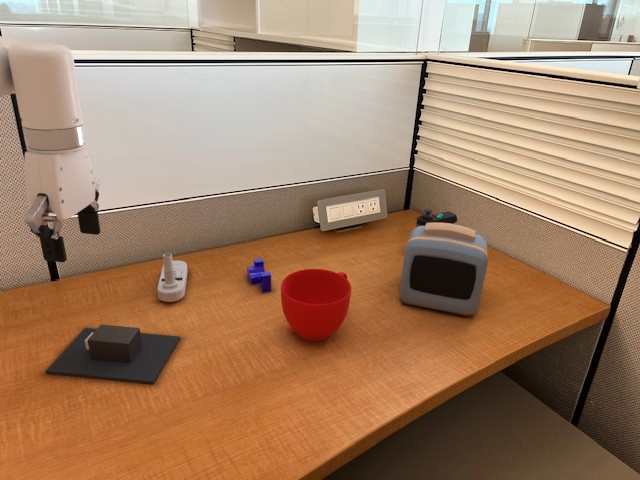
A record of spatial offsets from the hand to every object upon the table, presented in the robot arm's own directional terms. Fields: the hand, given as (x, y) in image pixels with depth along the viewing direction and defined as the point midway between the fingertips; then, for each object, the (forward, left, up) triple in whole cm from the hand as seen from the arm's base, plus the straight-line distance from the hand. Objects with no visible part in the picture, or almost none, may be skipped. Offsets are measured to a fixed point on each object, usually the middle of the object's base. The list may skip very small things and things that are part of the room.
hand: (74, 246), depth 75 cm
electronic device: (+5, +24, -21) cm, 32 cm away
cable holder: (+23, +28, -21) cm, 42 cm away
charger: (+4, 0, -20) cm, 20 cm away
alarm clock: (+63, +30, -21) cm, 73 cm away
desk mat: (+4, 0, -21) cm, 21 cm away
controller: (+65, +57, -21) cm, 89 cm away
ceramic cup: (+38, +14, -21) cm, 45 cm away
